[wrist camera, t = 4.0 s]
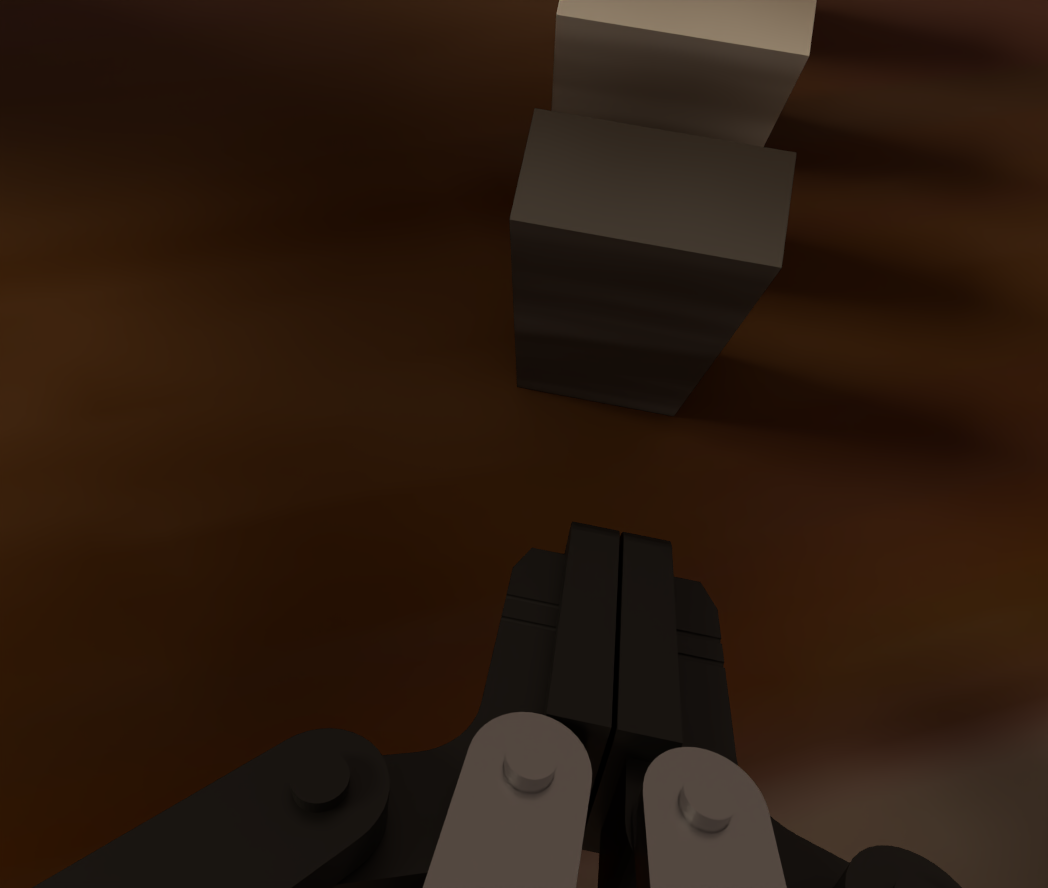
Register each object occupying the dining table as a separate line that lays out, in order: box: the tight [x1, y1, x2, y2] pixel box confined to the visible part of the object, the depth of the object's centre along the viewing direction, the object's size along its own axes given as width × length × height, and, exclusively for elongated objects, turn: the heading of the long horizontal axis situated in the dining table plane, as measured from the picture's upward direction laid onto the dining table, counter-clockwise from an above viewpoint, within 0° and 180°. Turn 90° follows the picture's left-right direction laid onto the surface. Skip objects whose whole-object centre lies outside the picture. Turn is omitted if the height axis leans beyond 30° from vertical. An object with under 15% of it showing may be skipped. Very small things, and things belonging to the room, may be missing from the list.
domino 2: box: [510, 108, 796, 416], centre depth 18 cm, size 2×5×10 cm, turn 79°
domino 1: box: [552, 0, 817, 147], centre depth 19 cm, size 2×5×10 cm, turn 79°
